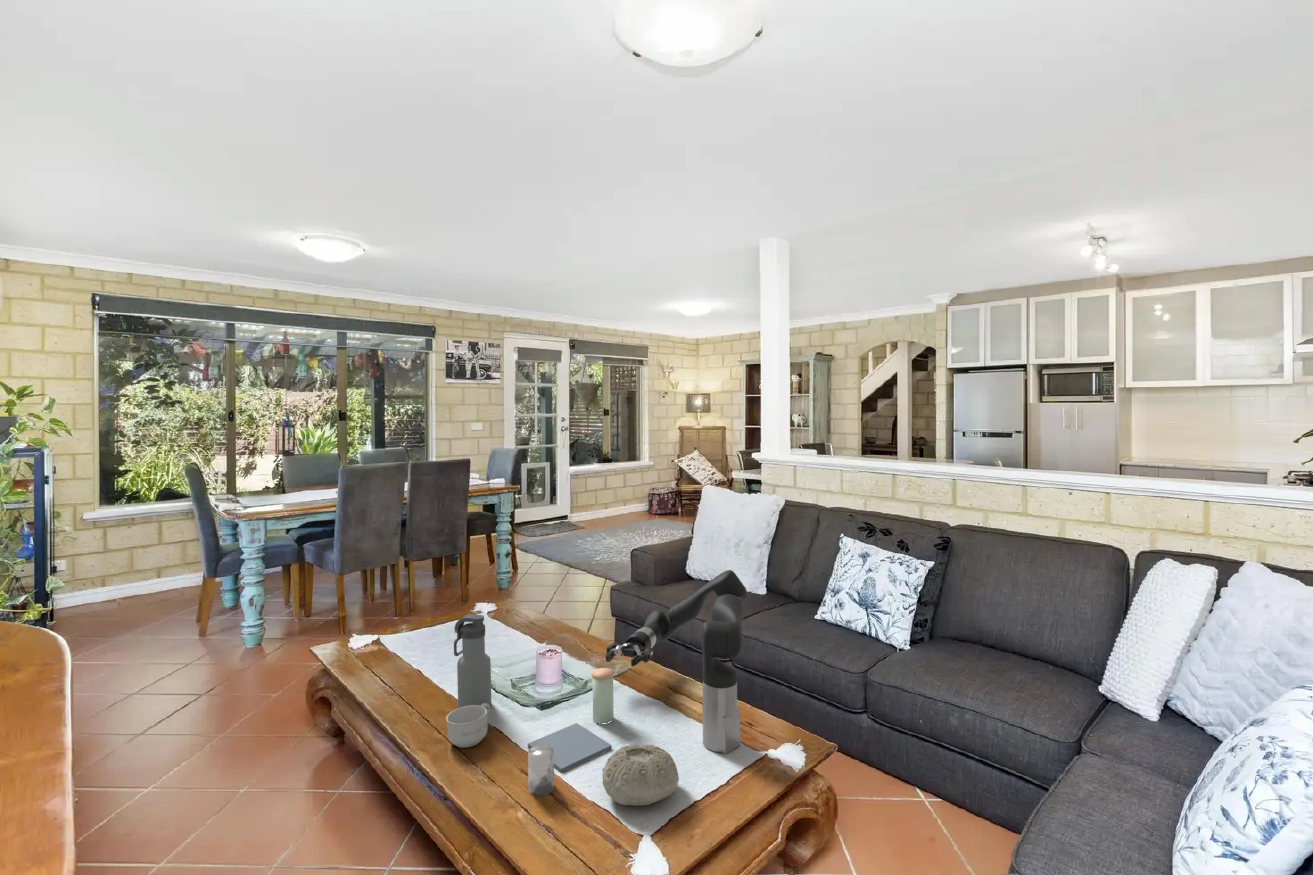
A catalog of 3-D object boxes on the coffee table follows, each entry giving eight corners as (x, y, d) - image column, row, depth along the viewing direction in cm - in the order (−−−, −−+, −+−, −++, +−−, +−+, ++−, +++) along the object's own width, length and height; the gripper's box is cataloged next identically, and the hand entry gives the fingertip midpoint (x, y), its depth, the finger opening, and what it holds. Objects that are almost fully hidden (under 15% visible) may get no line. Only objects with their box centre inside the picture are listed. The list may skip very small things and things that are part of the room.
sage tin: (618, 719, 183) (618, 672, 182) (601, 727, 179) (600, 679, 178) (605, 711, 187) (604, 666, 187) (588, 719, 183) (587, 672, 182)
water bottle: (450, 712, 188) (448, 620, 186) (467, 697, 197) (465, 610, 196) (481, 716, 185) (479, 623, 184) (497, 701, 195) (495, 612, 193)
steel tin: (558, 788, 150) (558, 751, 150) (537, 799, 146) (536, 761, 146) (545, 777, 155) (544, 742, 154) (523, 787, 151) (523, 751, 150)
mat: (611, 748, 167) (611, 745, 167) (561, 772, 157) (561, 768, 156) (576, 726, 179) (576, 722, 179) (527, 747, 168) (527, 743, 168)
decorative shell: (637, 763, 160) (637, 725, 160) (693, 790, 149) (693, 749, 149) (587, 797, 147) (586, 756, 146) (645, 829, 135) (645, 784, 135)
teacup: (462, 757, 164) (462, 727, 163) (438, 744, 170) (437, 715, 170) (505, 734, 175) (504, 706, 174) (480, 723, 181) (480, 696, 181)
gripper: (661, 656, 206) (640, 676, 191) (622, 649, 211) (599, 669, 196) (661, 634, 205) (640, 652, 190) (621, 628, 211) (598, 645, 196)
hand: (619, 661), depth 193 cm, fingers open, 8 cm apart
